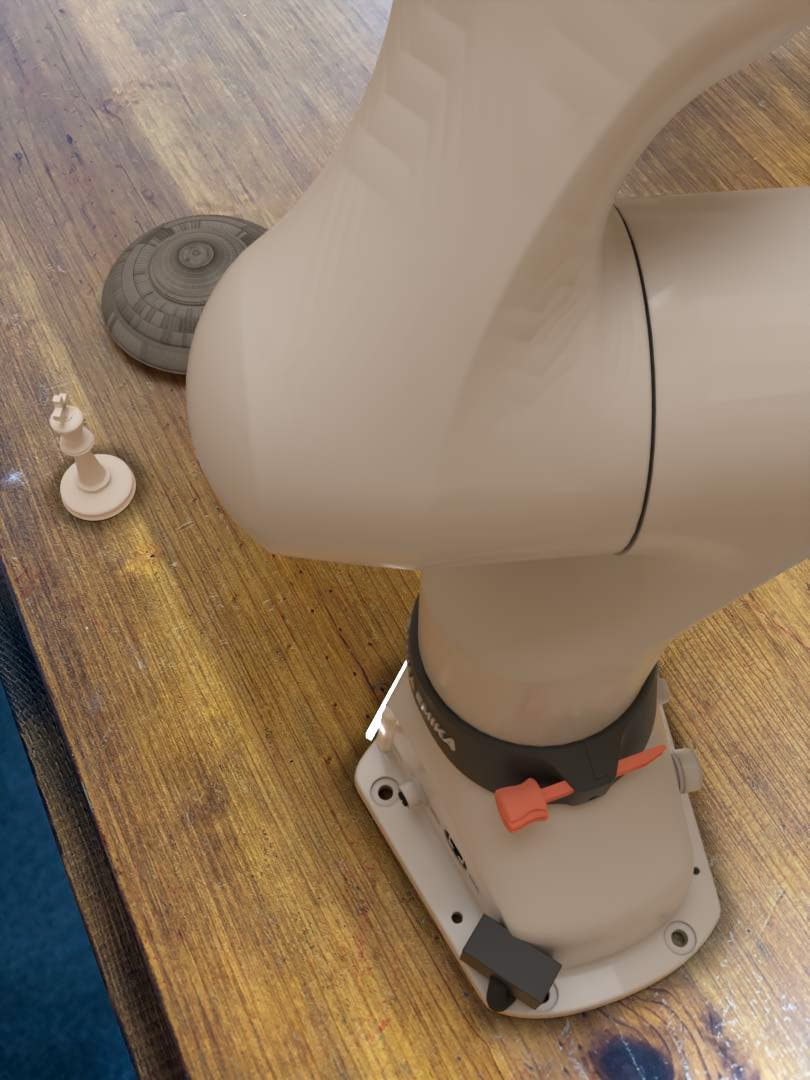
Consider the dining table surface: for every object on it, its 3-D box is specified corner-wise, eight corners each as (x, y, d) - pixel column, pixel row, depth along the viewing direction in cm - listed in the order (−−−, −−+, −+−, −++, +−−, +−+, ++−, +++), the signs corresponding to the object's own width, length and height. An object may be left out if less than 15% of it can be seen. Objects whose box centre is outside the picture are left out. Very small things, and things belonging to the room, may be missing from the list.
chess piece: (143, 461, 72) (108, 368, 63) (126, 524, 70) (87, 436, 61) (71, 455, 72) (26, 361, 63) (53, 517, 70) (3, 429, 61)
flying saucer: (81, 269, 80) (61, 214, 76) (266, 210, 84) (258, 153, 79) (142, 415, 74) (125, 365, 69) (341, 345, 77) (337, 293, 72)
